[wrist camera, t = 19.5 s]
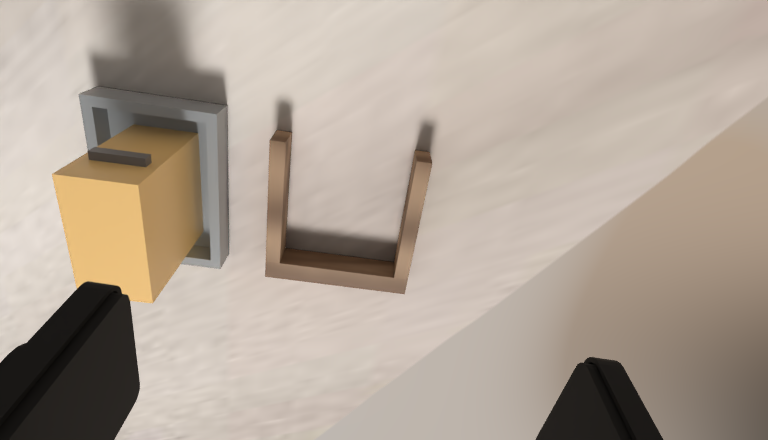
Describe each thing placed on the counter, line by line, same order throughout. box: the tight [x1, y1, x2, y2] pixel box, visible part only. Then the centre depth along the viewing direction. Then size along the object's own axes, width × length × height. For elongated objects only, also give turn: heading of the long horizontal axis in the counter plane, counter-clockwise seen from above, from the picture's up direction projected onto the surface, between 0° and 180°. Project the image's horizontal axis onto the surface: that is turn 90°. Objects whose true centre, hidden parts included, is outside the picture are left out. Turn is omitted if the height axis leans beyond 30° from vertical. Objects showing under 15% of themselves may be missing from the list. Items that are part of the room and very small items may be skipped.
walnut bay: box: [265, 130, 432, 294], centre depth 39 cm, size 13×12×2 cm
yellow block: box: [52, 124, 204, 303], centre depth 34 cm, size 10×5×10 cm, turn 172°
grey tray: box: [79, 86, 229, 269], centre depth 38 cm, size 14×10×2 cm
